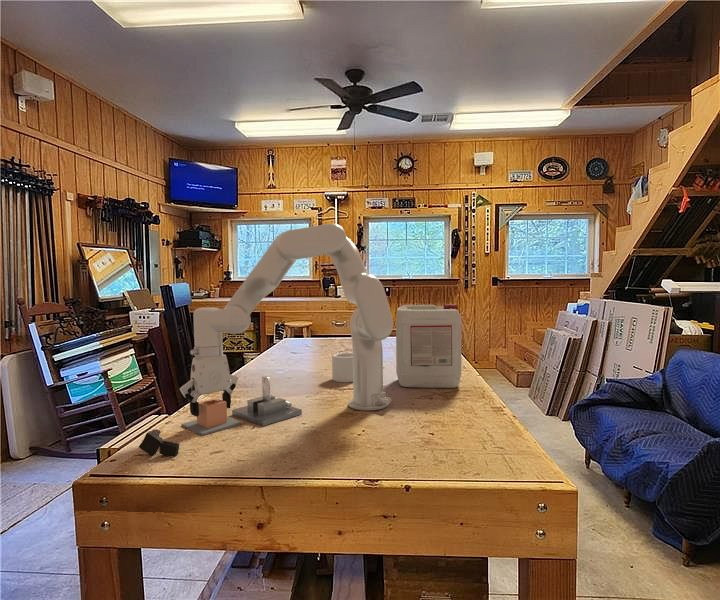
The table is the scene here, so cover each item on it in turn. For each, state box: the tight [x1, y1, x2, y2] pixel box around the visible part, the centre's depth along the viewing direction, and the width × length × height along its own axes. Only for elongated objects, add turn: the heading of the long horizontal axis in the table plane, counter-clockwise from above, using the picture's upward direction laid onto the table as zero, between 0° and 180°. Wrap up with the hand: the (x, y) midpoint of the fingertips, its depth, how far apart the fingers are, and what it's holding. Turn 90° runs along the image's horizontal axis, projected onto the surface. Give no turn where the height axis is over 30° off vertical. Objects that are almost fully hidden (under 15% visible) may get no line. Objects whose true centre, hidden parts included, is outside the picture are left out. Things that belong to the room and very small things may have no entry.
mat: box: [181, 416, 243, 437], centre depth 132 cm, size 12×12×1 cm
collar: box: [196, 397, 228, 428], centre depth 131 cm, size 6×6×6 cm
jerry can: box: [395, 303, 463, 389], centre depth 175 cm, size 24×19×30 cm
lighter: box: [138, 429, 180, 457], centre depth 111 cm, size 9×2×6 cm
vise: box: [231, 375, 303, 427], centre depth 140 cm, size 16×14×12 cm
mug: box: [331, 352, 353, 383], centre depth 185 cm, size 14×11×10 cm
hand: (211, 411), depth 131 cm, fingers open, 9 cm apart
